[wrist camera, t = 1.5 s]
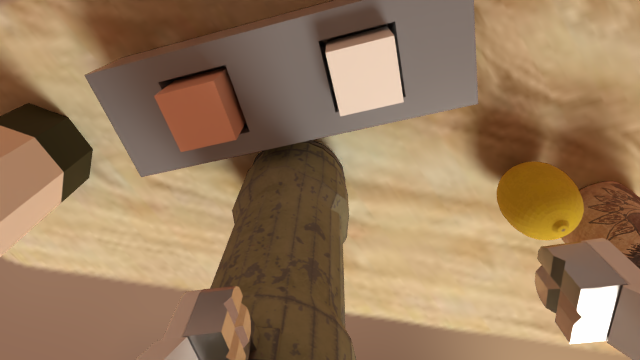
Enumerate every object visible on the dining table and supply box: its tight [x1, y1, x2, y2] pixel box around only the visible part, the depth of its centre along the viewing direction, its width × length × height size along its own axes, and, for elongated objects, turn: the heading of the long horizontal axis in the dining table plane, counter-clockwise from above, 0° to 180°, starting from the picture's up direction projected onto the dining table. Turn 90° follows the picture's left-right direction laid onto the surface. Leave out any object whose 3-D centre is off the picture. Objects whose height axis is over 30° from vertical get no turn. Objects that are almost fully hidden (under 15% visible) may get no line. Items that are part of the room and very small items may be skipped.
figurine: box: [561, 181, 640, 269], centre depth 30 cm, size 7×7×12 cm
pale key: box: [325, 26, 404, 116], centre depth 24 cm, size 4×4×4 cm
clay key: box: [154, 67, 246, 152], centre depth 26 cm, size 4×4×4 cm
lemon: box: [497, 162, 584, 240], centre depth 30 cm, size 6×6×8 cm
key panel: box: [85, 0, 478, 177], centre depth 27 cm, size 25×8×5 cm, turn 104°
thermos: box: [210, 140, 356, 360], centre depth 19 cm, size 9×12×35 cm
